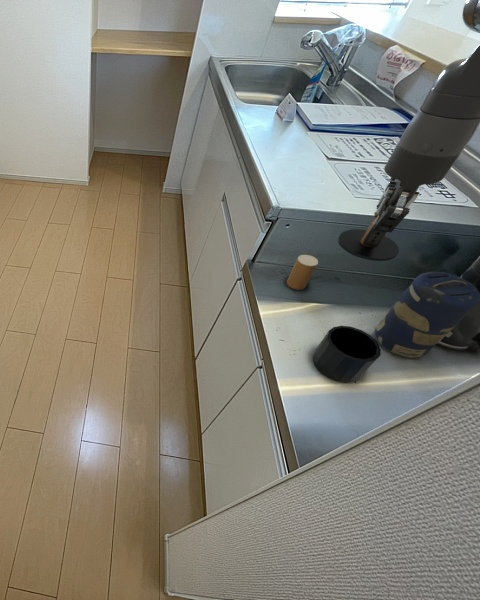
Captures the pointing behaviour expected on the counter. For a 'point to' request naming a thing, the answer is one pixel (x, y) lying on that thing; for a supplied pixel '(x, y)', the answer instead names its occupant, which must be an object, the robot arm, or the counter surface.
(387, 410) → the counter surface
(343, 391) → the counter surface
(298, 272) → the cylinder
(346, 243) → the lid
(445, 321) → the canister
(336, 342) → the cup
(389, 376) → the counter surface
